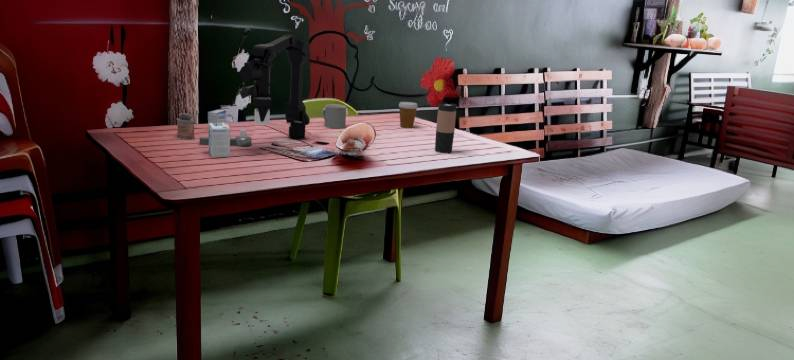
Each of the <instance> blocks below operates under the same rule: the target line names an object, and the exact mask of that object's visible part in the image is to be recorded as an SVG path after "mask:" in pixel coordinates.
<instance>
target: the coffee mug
mask: <svg viewBox="0 0 794 360" xmlns="http://www.w3.org/2000/svg"><path fill="white" fill-rule="evenodd" d="M321 116H322V118H323V120H324V127H325V128H327V129H334V130H341V129H345V128H346V121H347V120H346V119H347V105H344V104H337V103H335V104H334V103H333V104H332V103H331V104H325V106H324V108H323V109H322V111H321Z"/></svg>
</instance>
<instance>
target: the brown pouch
mask: <svg viewBox="0 0 794 360" xmlns="http://www.w3.org/2000/svg"><path fill="white" fill-rule="evenodd" d="M176 122H177V123H176V127H177V128H176V129H177V131H176V132H177V133H176V138H178V137H180V138H179V139H182V138H183V139H184V140H195V139H196V137H195V120H194V119H193V114H189V113H186V112H185V113H184V112H183V113H179V118H176ZM183 139H182V140H183Z"/></svg>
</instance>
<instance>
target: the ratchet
mask: <svg viewBox="0 0 794 360" xmlns="http://www.w3.org/2000/svg"><path fill="white" fill-rule="evenodd" d="M247 131H248V130H247V129H240V131H239V135H237V136H235V137H230V147H231V146H236V147H240V148H248V147H252V144H253V143H252V140H253V139H252V137H251V136H247V133H248V132H247ZM198 141H199V146H209V136H208V137H206V136H205V137H204V136H203V137H201V136H200V137H199V140H198Z"/></svg>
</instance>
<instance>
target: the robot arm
mask: <svg viewBox="0 0 794 360" xmlns="http://www.w3.org/2000/svg"><path fill="white" fill-rule="evenodd" d="M284 50H285V51H286V52H287V58H288V61H289V63H290V65H291V70H290V71H291V72H290V97H289V98H290V99H289V101H288V102H287V103H285V105H284V107H285V108H284V109H285V110H284V116H285V121H286V124H290V125H288V137H289V139H293V140H294V139H295V140H297V139H298V140H306V126H308V125H310V120H311V118H310V117H309V114H307V109H306V108H307V107H306V104H305V103H304V100H303V90H304V89H303V87H304V67H305V64H306V63H307V61H308V60H309V54H310V49H309V47H308V45H307V44H306V43H305V42H303V41H302V40H301V39H298V38H297V37H296V36H295V35H294V34H292V35H291V34H283V35H282V36H281V37H279V38H277V39H275V40H272V41H271V42H269V43H265V44H264V43H263V44H262V43H259V44H255V45H253V47H252V49H251V50H250V52H249V53H250V54H249V55H248V58H247V60H246V62H244V63H243V66H242V67H241V68H240V70H239V77H240V79H241V80H242V81H243V82H247V83H248V82H253V85H249V86H244V87H241V88H239V89H238V93H239V94H240V97H241V99H246V98H247V97H251V96H253V105H254V106H255V107H256V109H258V111H259V116H260V121H261V122H263V121H264V119H265V117H266V114H267V112H268V110H270V107H271V105H272V98H271V91H270V90H271V68H273V67H274V65H273V64H272V62H271V61H273V60H274V59H276V55H277V54H278V53H281V52H282V51H284Z"/></svg>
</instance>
